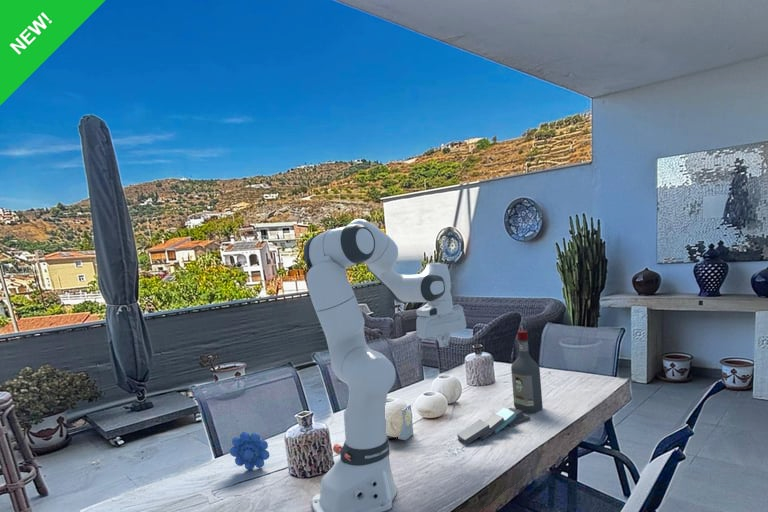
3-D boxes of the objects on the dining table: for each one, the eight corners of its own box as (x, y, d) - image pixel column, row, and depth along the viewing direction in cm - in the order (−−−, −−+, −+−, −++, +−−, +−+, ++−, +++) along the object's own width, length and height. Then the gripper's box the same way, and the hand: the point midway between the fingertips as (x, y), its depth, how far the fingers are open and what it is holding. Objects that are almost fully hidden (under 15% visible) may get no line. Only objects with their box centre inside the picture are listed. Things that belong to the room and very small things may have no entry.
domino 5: (509, 424, 144) (529, 417, 148) (499, 419, 148) (519, 412, 153) (510, 429, 144) (530, 421, 148) (499, 424, 148) (519, 417, 153)
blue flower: (228, 480, 121) (225, 439, 121) (232, 469, 128) (230, 430, 128) (268, 473, 123) (266, 434, 123) (271, 463, 130) (268, 425, 130)
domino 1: (465, 440, 132) (488, 424, 136) (456, 434, 137) (480, 419, 140) (466, 445, 132) (490, 429, 136) (458, 438, 137) (481, 424, 140)
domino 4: (508, 419, 143) (522, 410, 150) (496, 416, 147) (510, 407, 154) (509, 424, 143) (522, 415, 150) (496, 421, 147) (510, 412, 154)
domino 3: (494, 429, 139) (514, 412, 142) (484, 423, 143) (504, 407, 147) (495, 433, 139) (516, 416, 143) (486, 427, 143) (506, 411, 147)
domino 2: (481, 434, 135) (503, 417, 139) (472, 429, 140) (493, 412, 144) (483, 439, 135) (505, 422, 139) (474, 433, 140) (495, 417, 144)
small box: (413, 434, 143) (411, 404, 143) (405, 440, 139) (403, 410, 139) (394, 430, 148) (392, 401, 148) (386, 436, 143) (383, 406, 143)
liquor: (525, 402, 165) (519, 328, 165) (545, 408, 157) (539, 330, 158) (511, 409, 159) (505, 332, 160) (531, 415, 152) (525, 334, 152)
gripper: (456, 303, 153) (459, 339, 153) (412, 311, 142) (415, 350, 142) (468, 304, 147) (471, 342, 147) (423, 312, 137) (427, 353, 137)
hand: (443, 346), depth 145 cm, fingers closed
